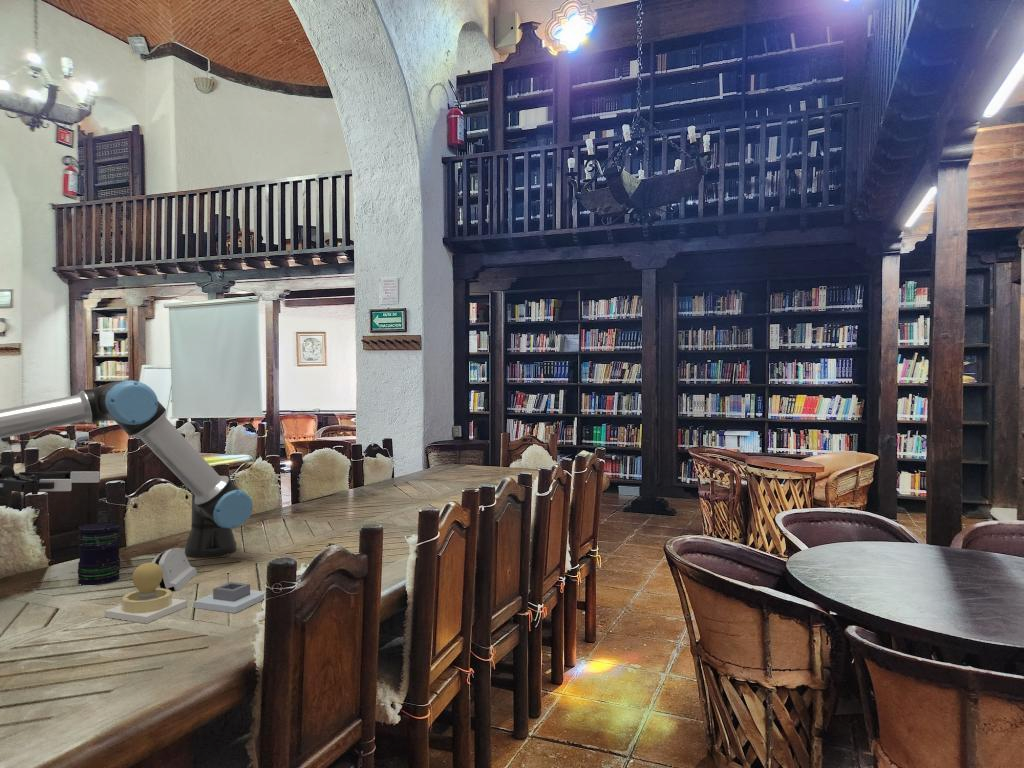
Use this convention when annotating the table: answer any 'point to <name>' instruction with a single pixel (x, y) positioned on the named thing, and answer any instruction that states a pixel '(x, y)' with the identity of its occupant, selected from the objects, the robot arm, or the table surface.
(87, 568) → the storage jar
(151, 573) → the light bulb
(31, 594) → the table surface
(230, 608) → the square socket
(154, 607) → the round socket
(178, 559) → the white curved block
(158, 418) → the robot arm
